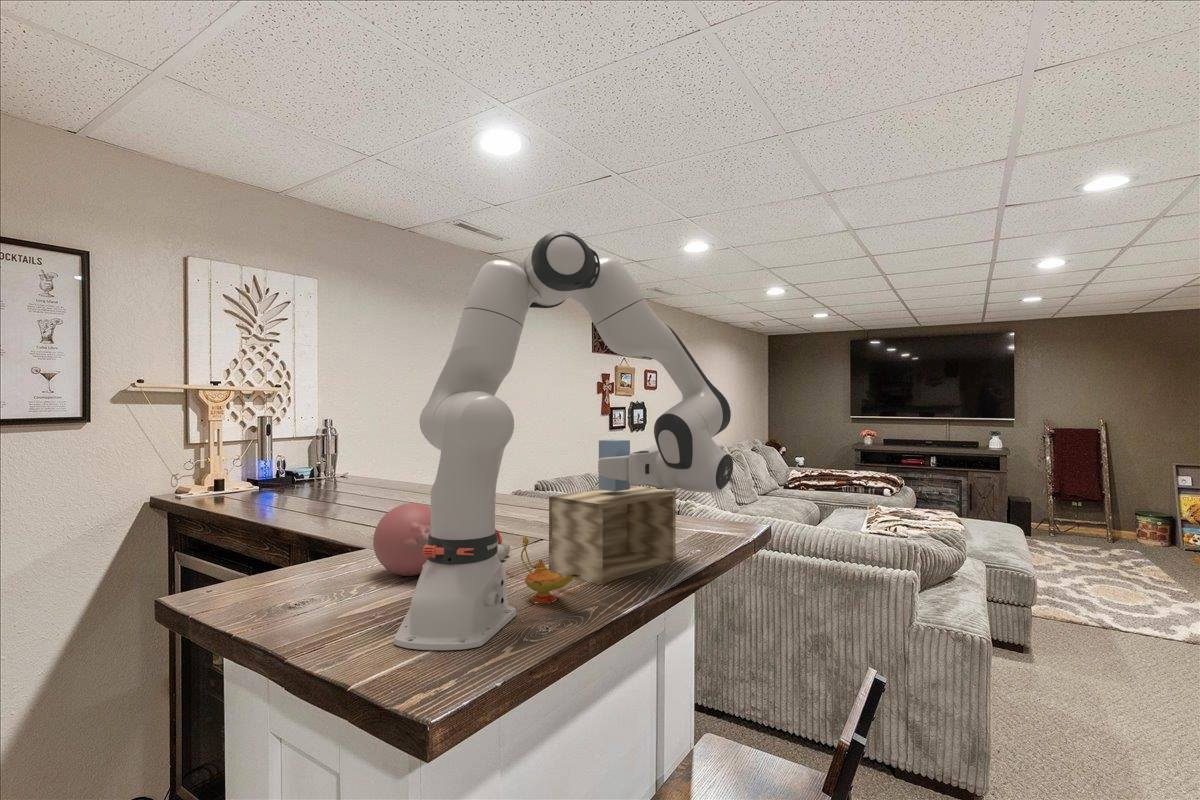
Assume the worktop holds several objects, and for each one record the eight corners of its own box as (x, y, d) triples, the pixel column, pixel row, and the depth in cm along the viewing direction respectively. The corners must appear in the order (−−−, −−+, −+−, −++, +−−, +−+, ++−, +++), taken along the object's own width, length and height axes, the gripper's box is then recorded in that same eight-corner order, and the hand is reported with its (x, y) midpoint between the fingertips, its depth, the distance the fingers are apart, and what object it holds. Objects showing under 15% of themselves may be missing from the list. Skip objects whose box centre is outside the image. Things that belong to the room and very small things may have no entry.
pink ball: (386, 595, 113) (387, 515, 113) (366, 571, 130) (367, 501, 130) (464, 583, 121) (464, 508, 121) (435, 561, 138) (436, 496, 138)
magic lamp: (564, 619, 101) (564, 554, 101) (506, 594, 114) (506, 537, 114) (594, 609, 106) (594, 548, 106) (535, 587, 119) (535, 532, 119)
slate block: (629, 489, 132) (630, 440, 132) (615, 491, 129) (615, 441, 129) (613, 487, 136) (613, 439, 136) (598, 489, 132) (598, 440, 132)
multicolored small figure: (511, 554, 145) (512, 525, 146) (502, 565, 136) (502, 533, 136) (478, 553, 146) (478, 524, 146) (466, 564, 137) (466, 532, 137)
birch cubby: (675, 564, 136) (675, 491, 137) (599, 589, 117) (599, 504, 118) (626, 553, 147) (626, 485, 147) (548, 574, 128) (549, 496, 128)
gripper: (688, 449, 131) (640, 446, 141) (629, 454, 116) (580, 450, 126) (688, 477, 131) (640, 472, 140) (629, 486, 116) (579, 480, 125)
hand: (611, 462), depth 133 cm, fingers closed on slate block, 5 cm apart
